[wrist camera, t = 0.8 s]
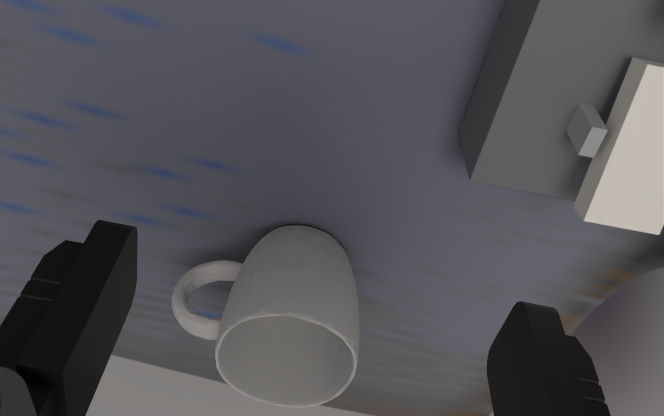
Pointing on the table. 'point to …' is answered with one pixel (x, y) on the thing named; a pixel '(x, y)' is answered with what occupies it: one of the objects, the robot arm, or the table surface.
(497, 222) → the table surface
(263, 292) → the mug
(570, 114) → the switch unit
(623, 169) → the rocker
